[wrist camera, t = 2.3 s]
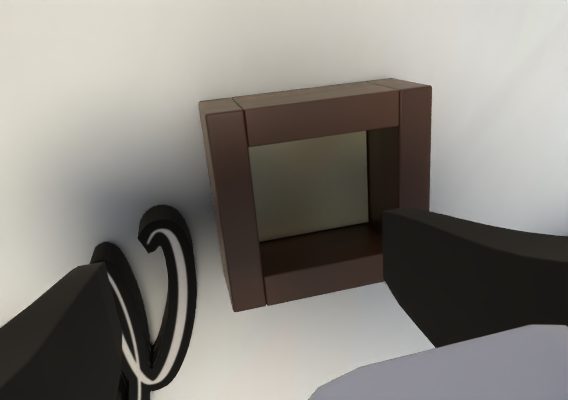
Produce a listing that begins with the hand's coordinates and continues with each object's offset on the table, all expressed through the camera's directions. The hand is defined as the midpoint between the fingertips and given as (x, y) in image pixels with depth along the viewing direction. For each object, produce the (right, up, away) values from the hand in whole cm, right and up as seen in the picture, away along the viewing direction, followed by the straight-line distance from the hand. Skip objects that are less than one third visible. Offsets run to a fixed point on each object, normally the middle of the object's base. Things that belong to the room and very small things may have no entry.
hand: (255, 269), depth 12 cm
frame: (+2, +3, +7) cm, 7 cm away
